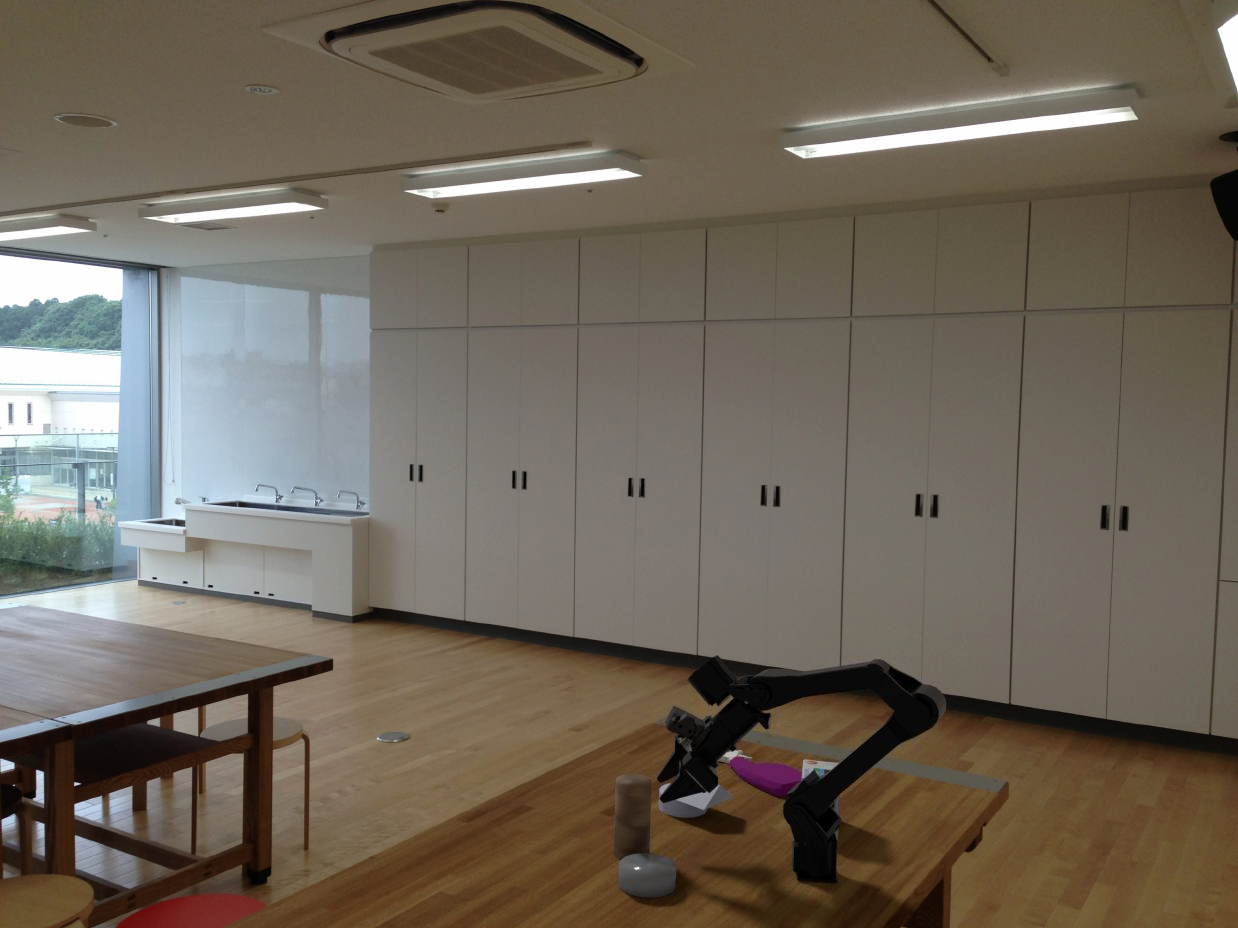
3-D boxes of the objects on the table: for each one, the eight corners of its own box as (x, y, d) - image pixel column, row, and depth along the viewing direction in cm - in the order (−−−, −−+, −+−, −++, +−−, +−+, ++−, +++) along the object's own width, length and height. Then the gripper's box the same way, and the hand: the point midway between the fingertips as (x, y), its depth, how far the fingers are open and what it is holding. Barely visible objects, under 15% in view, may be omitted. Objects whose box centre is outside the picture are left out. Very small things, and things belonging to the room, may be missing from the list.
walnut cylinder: (650, 846, 175) (652, 774, 175) (648, 862, 169) (650, 787, 169) (615, 844, 176) (617, 772, 175) (612, 860, 170) (614, 785, 169)
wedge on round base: (733, 814, 190) (679, 795, 199) (734, 779, 190) (680, 761, 199) (703, 828, 184) (649, 807, 193) (704, 791, 184) (649, 772, 192)
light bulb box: (838, 842, 179) (840, 781, 179) (799, 838, 181) (801, 777, 180) (837, 818, 190) (840, 761, 189) (800, 815, 191) (802, 758, 190)
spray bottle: (777, 801, 199) (703, 764, 220) (820, 792, 204) (744, 757, 225) (777, 786, 198) (704, 750, 220) (820, 777, 204) (745, 743, 225)
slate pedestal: (675, 872, 165) (676, 854, 165) (675, 898, 156) (675, 879, 156) (620, 869, 166) (620, 851, 166) (616, 895, 157) (616, 876, 157)
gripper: (690, 678, 181) (625, 738, 181) (700, 708, 162) (627, 775, 162) (733, 723, 181) (668, 783, 182) (748, 759, 163) (676, 825, 163)
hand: (659, 790), depth 172 cm, fingers open, 9 cm apart
